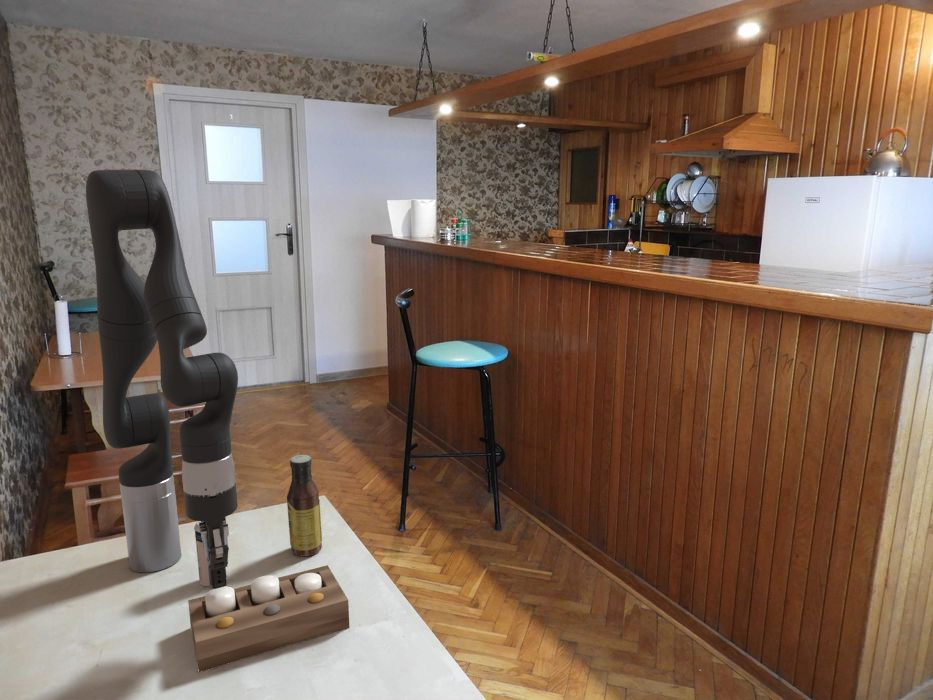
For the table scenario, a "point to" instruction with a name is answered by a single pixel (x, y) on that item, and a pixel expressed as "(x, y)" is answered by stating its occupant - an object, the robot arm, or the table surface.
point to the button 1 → (220, 601)
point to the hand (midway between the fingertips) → (218, 585)
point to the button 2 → (265, 590)
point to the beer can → (202, 559)
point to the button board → (267, 621)
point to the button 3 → (307, 583)
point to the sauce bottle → (303, 509)
